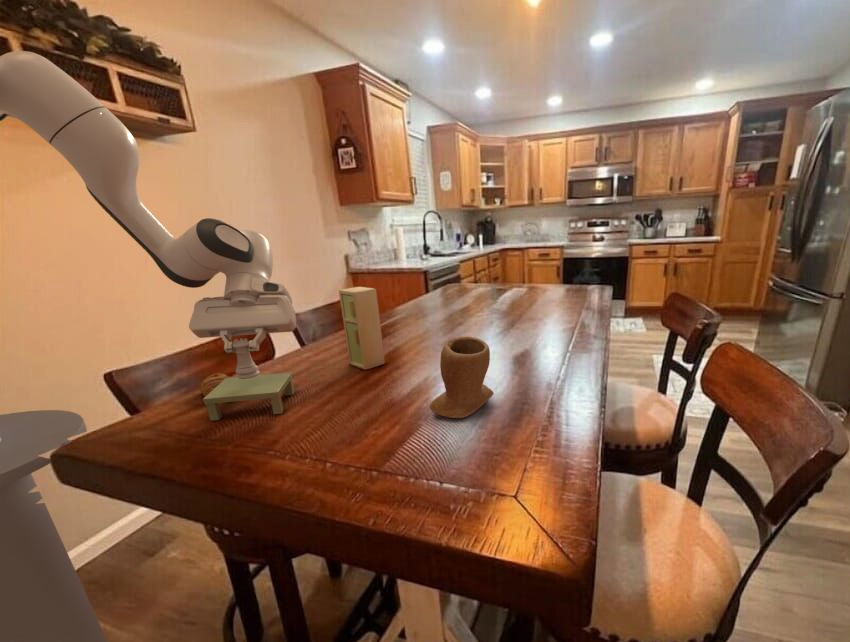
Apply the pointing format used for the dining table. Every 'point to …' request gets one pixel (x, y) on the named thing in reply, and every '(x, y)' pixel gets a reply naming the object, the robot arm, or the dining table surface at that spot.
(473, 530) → the dining table surface
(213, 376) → the pastry
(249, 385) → the green miniature table
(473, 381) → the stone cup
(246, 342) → the rook chess piece
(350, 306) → the toy refrigerator
